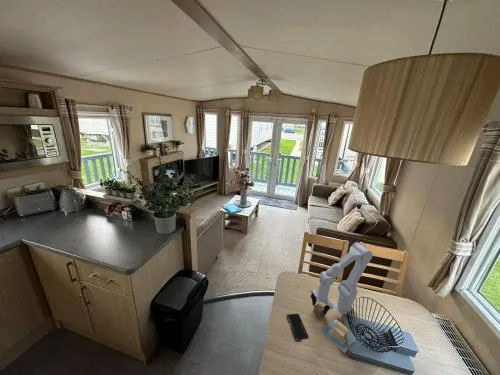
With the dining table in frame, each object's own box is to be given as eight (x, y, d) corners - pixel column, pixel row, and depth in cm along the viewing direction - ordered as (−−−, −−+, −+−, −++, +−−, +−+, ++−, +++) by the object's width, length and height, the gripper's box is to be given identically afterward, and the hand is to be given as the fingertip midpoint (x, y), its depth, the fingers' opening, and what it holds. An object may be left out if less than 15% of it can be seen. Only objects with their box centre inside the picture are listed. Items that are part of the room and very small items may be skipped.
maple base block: (337, 327, 119) (339, 321, 117) (347, 335, 114) (349, 330, 113) (331, 332, 115) (332, 327, 114) (341, 341, 111) (343, 336, 109)
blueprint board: (335, 319, 124) (335, 318, 124) (358, 338, 113) (358, 337, 113) (320, 331, 116) (320, 330, 116) (344, 353, 105) (344, 352, 105)
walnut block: (317, 308, 130) (319, 302, 129) (324, 314, 127) (325, 308, 126) (313, 312, 128) (314, 306, 126) (319, 317, 124) (320, 311, 123)
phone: (295, 339, 110) (286, 314, 124) (295, 341, 110) (285, 316, 124) (309, 338, 111) (298, 313, 125) (309, 339, 111) (298, 314, 126)
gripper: (308, 286, 126) (305, 303, 130) (330, 303, 115) (325, 322, 119) (316, 281, 130) (312, 299, 134) (337, 297, 119) (332, 316, 123)
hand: (319, 309), depth 126 cm, fingers open, 7 cm apart
